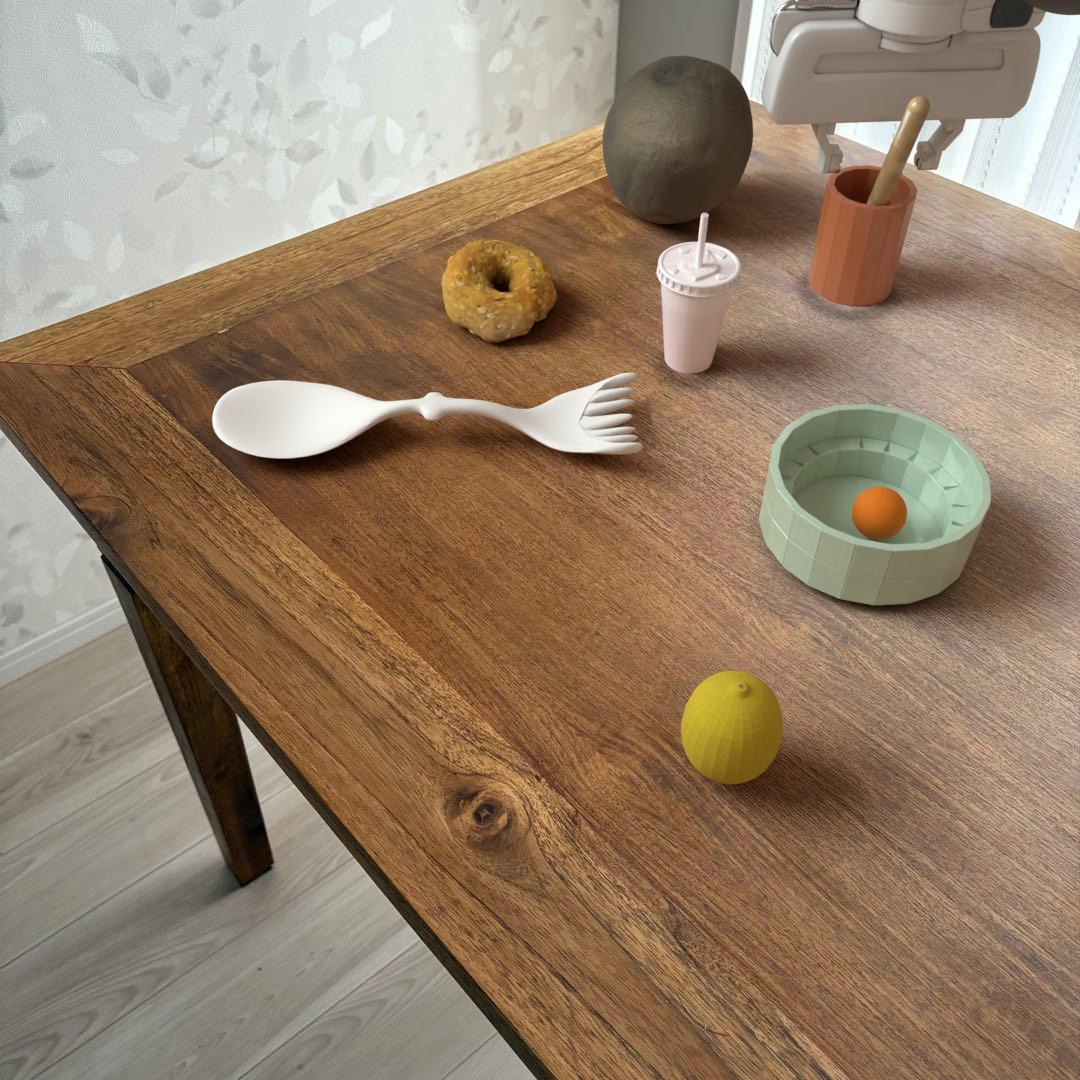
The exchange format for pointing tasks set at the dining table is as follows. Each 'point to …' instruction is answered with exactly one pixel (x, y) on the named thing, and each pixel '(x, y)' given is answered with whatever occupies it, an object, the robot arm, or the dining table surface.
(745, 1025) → the dining table surface
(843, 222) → the crock
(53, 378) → the dining table surface
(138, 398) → the dining table surface
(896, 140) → the stick
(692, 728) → the lemon
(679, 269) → the smoothie
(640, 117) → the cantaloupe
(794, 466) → the bowl
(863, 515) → the ball
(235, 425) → the spoon
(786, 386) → the dining table surface
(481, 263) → the bagel
